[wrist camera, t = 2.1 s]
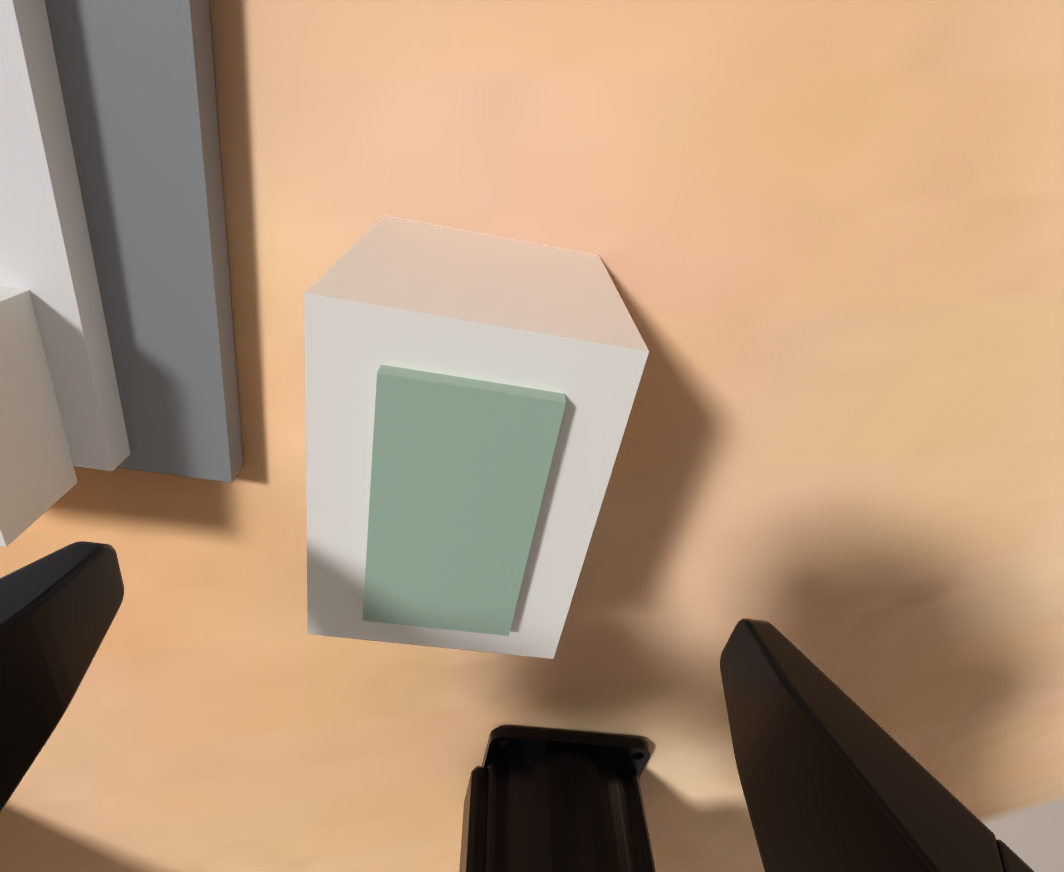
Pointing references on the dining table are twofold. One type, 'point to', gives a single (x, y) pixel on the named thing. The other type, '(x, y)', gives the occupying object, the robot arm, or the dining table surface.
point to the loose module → (459, 435)
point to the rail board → (111, 250)
